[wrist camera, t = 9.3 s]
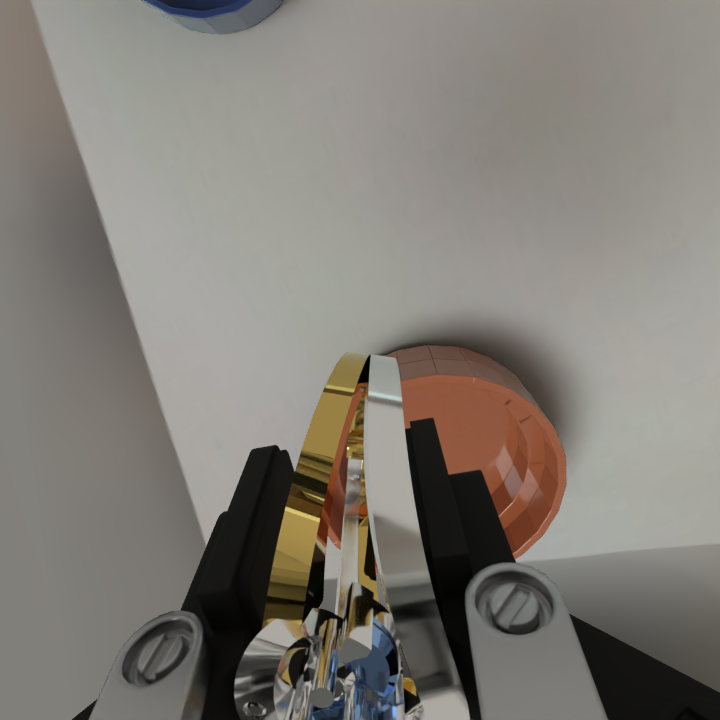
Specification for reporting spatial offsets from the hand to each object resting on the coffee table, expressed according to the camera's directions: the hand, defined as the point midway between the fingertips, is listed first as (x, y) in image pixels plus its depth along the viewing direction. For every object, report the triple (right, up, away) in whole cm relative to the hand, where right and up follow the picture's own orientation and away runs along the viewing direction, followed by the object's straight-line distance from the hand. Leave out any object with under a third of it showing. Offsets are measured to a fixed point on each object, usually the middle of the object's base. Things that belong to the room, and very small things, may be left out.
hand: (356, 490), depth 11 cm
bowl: (+5, -3, +22) cm, 23 cm away
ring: (0, +1, +2) cm, 3 cm away
